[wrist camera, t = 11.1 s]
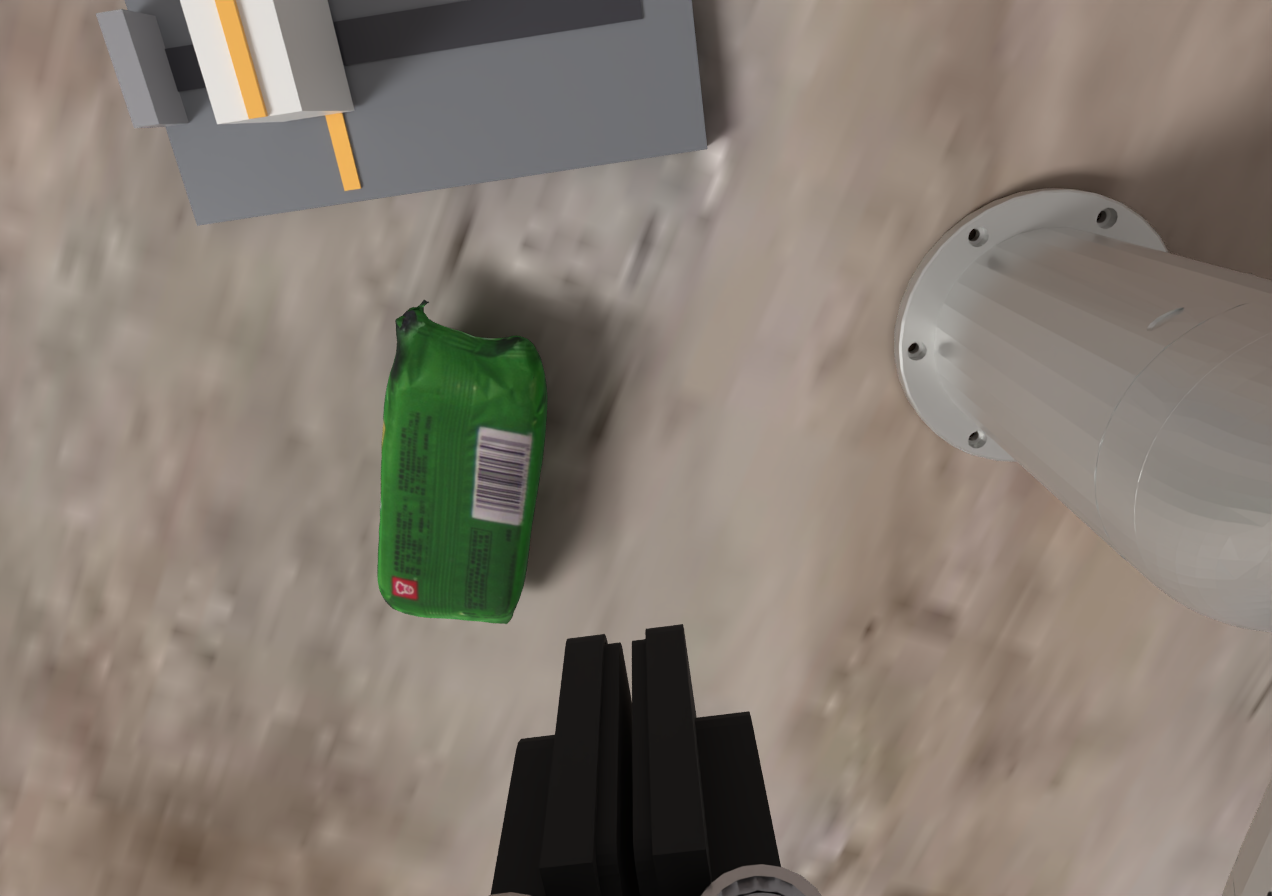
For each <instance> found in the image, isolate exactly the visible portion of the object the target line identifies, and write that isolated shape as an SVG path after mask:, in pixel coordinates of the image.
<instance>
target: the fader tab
mask: <svg viewBox="0 0 1272 896" xmlns="http://www.w3.org/2000/svg"><path fill="white" fill-rule="evenodd" d="M180 3H181V6H182V9H183V12H184V16H185V19H186V22H187V26H188V29H189V32H190V36H191V39H192V42H193V46H194V49H195V52H196V56H197V59H198V62H199V66H200V69H201V72H202V76H203V79H204V82H205V86H206V89H207V92H208V95H209V99H210V102H211V105H212V109H213V112H214V115H215V119H216V122H217V124H238V123H265V122H285V121H291V120H298V119H304V118H311V117H317V116H324V115H330V114H337V113H343V112H350V111H355V110H354V106H353V102H352V98H351V94H350V90H349V86H348V82H347V78H346V74H345V70H344V66H343V61H342V57H341V53H340V49H339V45H338V41H337V37H336V33H335V29H334V25H333V21H332V17H331V12H330V8H329V4H328V0H180Z"/></svg>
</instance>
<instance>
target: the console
mask: <svg viewBox="0 0 1272 896" xmlns="http://www.w3.org/2000/svg"><path fill="white" fill-rule="evenodd" d="M125 3H126V6H127V9H128V10H123V9H121V10H114V11H108V12H102V13H96V16H97V19H98V22H99V24H100V27H101V30H102V33H103V36H104V39H105V42H106V45H107V48H108V51H109V54H110V57H111V60H112V63H113V66H114V69H115V72H116V75H117V78H118V81H119V84H120V87H121V90H122V93H123V96H124V99H125V102H126V105H127V108H128V111H129V114H130V117H131V120H132V123H133V126H134V128H151V127H166V130H167V133H168V136H169V139H170V142H171V146H172V149H173V152H174V155H175V158H176V161H177V164H178V167H179V170H180V173H181V177H182V180H183V183H184V186H185V189H186V192H187V195H188V198H189V201H190V204H191V208H192V211H193V214H194V217H195V220H196V223H197V226H198V225H204V224H211V223H218V222H224V221H231V220H238V219H244V218H251V217H258V216H264V215H271V214H278V213H284V212H291V211H298V210H304V209H311V208H318V207H324V206H331V205H338V204H344V203H351V202H358V201H364V200H371V199H378V198H384V197H391V196H398V195H404V194H411V193H417V192H424V191H431V190H437V189H444V188H451V187H457V186H464V185H471V184H477V183H484V182H491V181H497V180H504V179H511V178H517V177H524V176H531V175H537V174H544V173H551V172H557V171H564V170H571V169H577V168H584V167H591V166H597V165H604V164H611V163H617V162H624V161H631V160H637V159H644V158H651V157H657V156H664V155H671V154H677V153H684V152H691V151H697V150H704V149H707V141H706V132H705V122H704V113H703V103H702V94H701V84H700V75H699V65H698V56H697V46H696V37H695V28H694V18H693V9H692V0H328V4H329V8H330V12H331V17H332V21H333V25H334V29H335V33H336V37H337V41H338V45H339V49H340V53H341V57H342V61H343V66H344V70H345V74H346V78H347V82H348V86H349V90H350V94H351V98H352V102H353V106H354V110H355V111H350V112H343V113H337V114H330V115H324V116H317V117H311V118H304V119H298V120H291V121H285V122H265V123H238V124H217V122H216V119H215V115H214V112H213V109H212V105H211V102H210V99H209V95H208V92H207V89H206V86H205V82H204V79H203V76H202V72H201V69H200V66H199V62H198V59H197V56H196V52H195V49H194V46H193V42H192V39H191V36H190V32H189V29H188V26H187V22H186V19H185V16H184V12H183V9H182V6H181V3H180V0H125Z"/></svg>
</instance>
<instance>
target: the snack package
mask: <svg viewBox="0 0 1272 896" xmlns="http://www.w3.org/2000/svg"><path fill="white" fill-rule="evenodd" d="M427 303H429V302H427V301H425V300H424V301H423V302H422V303H421V304H420V305H419V306H418V307H412V308H410V309H409V310H408V311H406V312H405V313H404V314H403V316H401V317H399V318H397V319H396V335H397V350H396V356H395V359H394V363H393V366H392V369H391V372H390V376H389V380H388V384H387V389H386V395H385V403H384V415H383V433H382V461H381V501H380V526H379V546H378V585H379V589H380V592H381V594H382V596H383V598H384V600H385V601H386V602H387V603H388V604H389V606H390V607H392V608H393V609H395V610H397V611H400V612H402V613H405V614H409V615H414V616H418V617H426V618H445V619H459V620H468V621H482V622H489V623H505V624H507V623H508V622H509V621H510V620H511V618H512V616H513V613H514V610H515V608H516V606H517V603H518V601H519V599H520V595H521V592H522V589H523V586H524V581H525V575H526V570H527V564H528V555H529V547H530V537H531V529H532V522H533V516H534V510H535V504H536V498H537V492H538V485H539V479H540V472H541V466H542V460H543V452H544V442H545V432H546V419H547V386H546V379H545V373H544V369H543V365H542V361H541V358H540V356H539V354H538V352H537V350H536V348H535V346H534V345H533V343H532V342H530V341H529V340H528V339H526V338H524V337H521V336H510V337H505V338H481V337H474V336H472V335H469V334H466V333H464V332H462V331H458V330H454V329H451V328H448V327H444V326H442V325H439V324H437V323H435V322H433V321H431V320H430V319H428V317H427V316H426V315H425V313H424V306H425V305H426V304H427Z"/></svg>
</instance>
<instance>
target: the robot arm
mask: <svg viewBox="0 0 1272 896" xmlns="http://www.w3.org/2000/svg"><path fill="white" fill-rule="evenodd" d="M1100 212H1101V214H1102V216H1101V218H1100V219H1099V220H1098V221H1097V217H1098V214H1099V213H1100ZM972 229H975V230H976V235H975V237H974V238H973V239H971V240H969V239H968V236H969V233H970V232H971V230H972ZM912 343H916V348H915V349H914V350H912V351H908V347H909V346H910V345H911V344H912ZM894 357H895V362H896V368H897V373H898V378H899V381H900V383H901V385H902V388H903V390H904V393H905V395H906V397H907V400H908V401H909V403H910V404H911V406H912V407H913V408H914V410H915V411H916V413H917V414H918V416H919V417H920V418H921V419H922V420H923V421H924V422H925V423H926V424H927V425H928V426H929V427H930V429H931V430H932V431H933V432H934V433H936V434H937V435H938V436H940V437H941V438H942V439H944V440H945V441H946V442H948V443H949V444H951V445H952V446H954V447H956V448H958V449H960V450H962V451H964V452H966V453H968V454H971V455H974V456H978V457H982V458H986V459H991V460H995V461H1009V462H1018V463H1019V464H1020V465H1021V466H1022V467H1023V468H1025V469H1026V470H1027V471H1028V472H1029V473H1030V474H1031V475H1032V476H1033V477H1034V478H1036V479H1037V480H1038V481H1039V482H1040V483H1041V484H1042V485H1043V486H1044V487H1046V488H1047V489H1048V490H1049V491H1050V492H1051V493H1052V494H1053V495H1054V496H1055V497H1057V498H1058V499H1059V500H1060V501H1061V502H1062V503H1063V504H1064V505H1065V506H1066V507H1068V508H1069V509H1070V510H1071V511H1072V512H1073V513H1074V514H1075V515H1076V516H1077V517H1079V518H1080V519H1081V520H1082V521H1083V522H1084V523H1085V524H1086V525H1087V526H1088V527H1090V528H1091V529H1092V530H1093V531H1094V532H1095V533H1096V534H1097V535H1098V536H1099V537H1101V538H1102V539H1103V540H1104V541H1105V542H1106V543H1107V544H1108V545H1109V546H1110V547H1112V548H1113V549H1114V550H1115V551H1116V552H1117V553H1118V554H1119V555H1120V556H1121V557H1123V558H1124V559H1125V560H1126V561H1128V562H1129V563H1130V564H1131V565H1132V566H1133V567H1134V568H1136V569H1137V570H1138V571H1139V572H1140V573H1141V574H1142V575H1143V576H1144V577H1146V578H1147V579H1148V580H1149V581H1150V582H1151V583H1152V584H1153V585H1155V586H1156V587H1157V588H1159V589H1160V590H1161V591H1163V592H1164V593H1165V594H1167V595H1168V596H1170V597H1171V598H1172V599H1174V600H1175V601H1177V602H1179V603H1180V604H1182V605H1184V606H1185V607H1187V608H1189V609H1191V610H1193V611H1195V612H1197V613H1199V614H1201V615H1203V616H1206V617H1209V618H1211V619H1214V620H1217V621H1220V622H1223V623H1226V624H1229V625H1233V626H1236V627H1240V628H1245V629H1250V630H1256V631H1265V632H1272V280H1268V279H1265V278H1261V277H1257V276H1255V275H1253V274H1252V273H1249V274H1246V273H1242V272H1238V271H1235V270H1231V269H1227V268H1223V267H1220V266H1216V265H1212V264H1208V263H1205V262H1201V261H1197V260H1193V259H1190V258H1186V257H1182V256H1178V255H1175V254H1171V253H1169V252H1168V250H1167V248H1166V246H1165V244H1164V243H1163V241H1162V239H1161V237H1160V236H1159V234H1158V233H1157V232H1156V231H1155V230H1154V229H1153V228H1152V227H1151V226H1150V224H1149V223H1148V222H1147V221H1146V220H1145V219H1144V218H1143V217H1142V216H1140V215H1139V214H1137V213H1136V212H1134V211H1133V210H1132V209H1130V208H1129V207H1127V206H1126V205H1124V204H1123V203H1121V202H1118V201H1115V200H1113V199H1110V198H1108V197H1105V196H1103V195H1100V194H1097V193H1092V192H1087V191H1082V190H1077V189H1062V188H1044V189H1037V190H1030V191H1023V192H1019V193H1016V194H1013V195H1010V196H1007V197H1004V198H1001V199H998V200H995V201H993V202H991V203H989V204H987V205H985V206H984V207H982V208H980V209H978V210H976V211H974V212H973V213H971V214H969V215H967V216H966V217H965V218H964V219H962V220H961V221H960V222H959V223H957V224H956V225H955V226H953V227H952V228H951V229H950V230H948V231H947V232H946V233H945V234H944V235H943V236H942V237H941V238H940V239H939V240H938V242H937V243H936V244H935V245H934V246H933V247H932V248H931V249H930V250H929V252H928V253H927V254H926V255H925V256H924V258H923V260H922V261H921V263H920V264H919V266H918V267H917V269H916V271H915V272H914V274H913V275H912V277H911V279H910V281H909V283H908V286H907V288H906V291H905V293H904V295H903V298H902V300H901V303H900V306H899V311H898V316H897V320H896V325H895V332H894ZM974 432H975V434H974V436H973V437H970V438H969V436H970V435H971V434H972V433H974ZM489 896H821V894H820V893H819V891H818V890H817V888H816V887H814V886H813V885H812V884H811V883H810V882H808V881H807V880H806V879H805V878H804V877H802V876H801V875H799V874H797V873H794V872H792V871H790V870H788V869H785V868H783V867H781V864H780V859H779V855H778V850H777V845H776V840H775V835H774V830H773V825H772V820H771V815H770V810H769V805H768V800H767V795H766V790H765V785H764V780H763V775H762V770H761V765H760V760H759V755H758V750H757V745H756V740H755V735H754V730H753V725H752V720H751V716H750V712H741V713H732V714H724V715H716V716H707V717H699V718H696V711H695V704H694V697H693V690H692V683H691V676H690V669H689V662H688V655H687V648H686V641H685V634H684V627H683V624H681V625H673V626H665V627H657V628H649V629H646V639H644V640H636V641H632V700H631V695H630V689H629V683H628V678H627V672H626V666H625V660H624V655H623V649H622V645H621V643H612V644H608V642H607V638H606V636H605V634H601V635H593V636H585V637H578V638H570V639H567V641H566V646H565V655H564V663H563V672H562V680H561V689H560V697H559V706H558V714H557V723H556V731H555V735H549V736H541V737H533V738H525V739H521V740H520V741H519V742H518V745H517V749H516V754H515V759H514V765H513V771H512V776H511V782H510V788H509V794H508V799H507V805H506V811H505V816H504V822H503V828H502V833H501V839H500V845H499V850H498V856H497V862H496V867H495V873H494V879H493V884H492V890H491V895H489ZM1222 896H1272V778H1271V780H1270V783H1269V785H1268V787H1267V789H1266V792H1265V794H1264V796H1263V798H1262V801H1261V803H1260V805H1259V807H1258V810H1257V812H1256V814H1255V816H1254V819H1253V821H1252V823H1251V825H1250V828H1249V830H1248V832H1247V834H1246V837H1245V839H1244V841H1243V843H1242V846H1241V848H1240V851H1239V854H1238V857H1237V859H1236V861H1235V864H1234V866H1233V868H1232V871H1231V873H1230V876H1229V878H1228V880H1227V883H1226V886H1225V888H1224V891H1223V894H1222Z"/></svg>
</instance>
